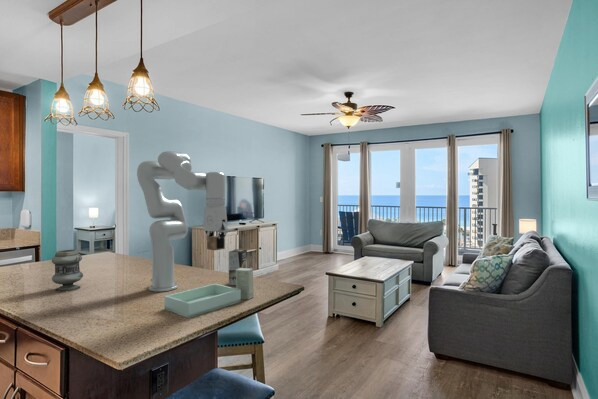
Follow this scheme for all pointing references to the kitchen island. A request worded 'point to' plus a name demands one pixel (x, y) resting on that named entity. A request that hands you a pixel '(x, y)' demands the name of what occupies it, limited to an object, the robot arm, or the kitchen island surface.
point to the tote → (202, 300)
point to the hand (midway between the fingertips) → (215, 247)
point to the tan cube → (213, 243)
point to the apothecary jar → (67, 269)
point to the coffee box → (236, 263)
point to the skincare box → (245, 282)
